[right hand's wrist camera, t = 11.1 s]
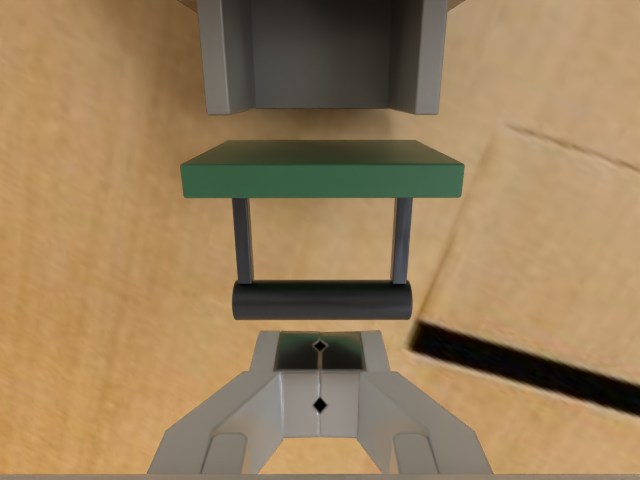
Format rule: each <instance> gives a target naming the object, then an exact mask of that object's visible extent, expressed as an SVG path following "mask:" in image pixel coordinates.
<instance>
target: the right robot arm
mask: <svg viewBox="0 0 640 480" xmlns="http://www.w3.org/2000/svg"><path fill="white" fill-rule="evenodd" d="M302 437H338V438H357V440H358V442H359V443H360V444H361V446H362V447H363V448H364V450H365V451H366V452H367V454H368V455H369V456H370V458H371V459H372V460H373V462H374V463H375V464H376V466H377V467H378V468H379V470H380V471H381V472H382V474H258V473H259V471H260V470H261V469H262V467H263V466H264V465H265V463H266V462H267V461H268V459H269V458H270V457H271V455H272V454H273V453H274V451H275V450H276V449H277V448H278V446H279V445H280V444H281V442H282V441H283V438H302ZM0 480H640V474H493V472H492V469H491V467H490V465H489V463H488V460H487V458H486V456H485V454H484V451H483V449H482V447H481V445H480V442H479V440H478V438H477V435H476V433H475V431H474V430H472V429H471V428H470V427H468V426H467V425H466V424H464V423H463V422H462V421H461V420H459V419H458V418H457V417H455V416H454V415H453V414H451V413H450V412H449V411H448V410H446V409H445V408H444V407H442V406H441V405H440V404H438V403H437V402H436V401H435V400H433V399H432V398H431V397H429V396H428V395H427V394H425V393H424V392H423V391H421V390H420V389H419V388H418V387H416V386H415V385H414V384H412V383H411V382H410V381H408V380H407V379H406V378H405V377H403V376H402V375H401V374H399V373H398V372H391V370H390V366H389V362H388V358H387V354H386V350H385V346H384V342H383V338H382V334H381V332H380V331H355V332H311V331H281V332H280V331H260V332H259V333H258V337H257V341H256V345H255V349H254V353H253V357H252V361H251V366H250V370H249V372H242V373H241V374H239V375H238V376H237V377H235V378H234V379H233V380H232V381H230V382H229V383H228V384H226V385H225V386H224V387H222V388H221V389H220V390H218V391H217V392H216V393H215V394H213V395H212V396H211V397H209V398H208V399H207V400H205V401H204V402H203V403H201V404H200V405H199V406H198V407H196V408H195V409H194V410H192V411H191V412H190V413H188V414H187V415H186V416H184V417H183V418H182V419H181V420H179V421H178V422H177V423H175V424H174V425H173V426H171V427H170V428H169V429H167V430H166V432H165V434H164V436H163V438H162V440H161V443H160V445H159V447H158V449H157V452H156V454H155V456H154V458H153V461H152V463H151V465H150V467H149V469H148V472H147V474H0Z"/></svg>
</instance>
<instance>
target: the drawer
mask: <svg viewBox="0 0 640 480" xmlns="http://www.w3.org/2000/svg"><path fill="white" fill-rule="evenodd" d="M447 8H448V0H197V9H198V21H199V32H200V43H201V55H202V66H203V77H204V89H205V100H206V111H207V114H208V115H231V114H235V113H239V112H244V111H248V110H252V109H392V110H397V111H401V112H406V113H410V114H415V115H437V114H438V110H439V98H440V87H441V76H442V64H443V53H444V42H445V30H446V19H447ZM464 167H465V166H464V164H463V163H461V162H459V161H457V160H455V159H452V158H450V157H448V156H446V155H444V154H442V153H440V152H438V151H436V150H434V149H432V148H430V147H428V146H426V145H424V144H422V143H420V142H418V141H416V140H249V141H226V142H224V143H222V144H220V145H218V146H217V147H215V148H213V149H211V150H209V151H207V152H205V153H203V154H201V155H199V156H197V157H195V158H193V159H191V160H189V161H187V162H185V163H183V164H181V166H180V168H181V177H182V186H183V194H184V197H185V198H232V205H233V219H234V233H235V246H236V260H237V273H238V280H237V281H236V282H235V284H234V287H233V294H232V310H233V316H234V318H235V320H409V319H410V317H411V314H412V290H411V285H410V283H409V281H408V280H407V267H408V254H409V240H410V226H411V213H412V199H413V198H459V197H461V193H462V184H463V175H464ZM249 198H395V207H394V223H393V240H392V257H391V274H390V279H391V280H254V270H253V253H252V236H251V220H250V203H249Z"/></svg>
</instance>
